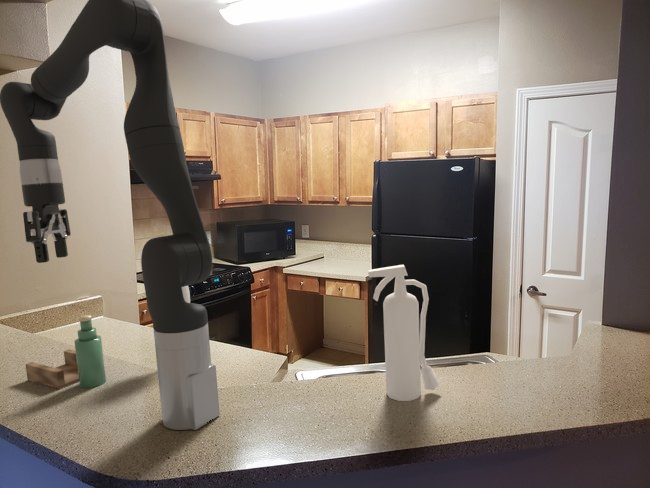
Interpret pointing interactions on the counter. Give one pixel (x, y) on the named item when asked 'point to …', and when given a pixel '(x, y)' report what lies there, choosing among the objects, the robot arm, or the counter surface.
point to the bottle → (89, 355)
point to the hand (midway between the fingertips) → (53, 259)
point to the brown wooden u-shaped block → (55, 372)
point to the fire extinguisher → (404, 336)
